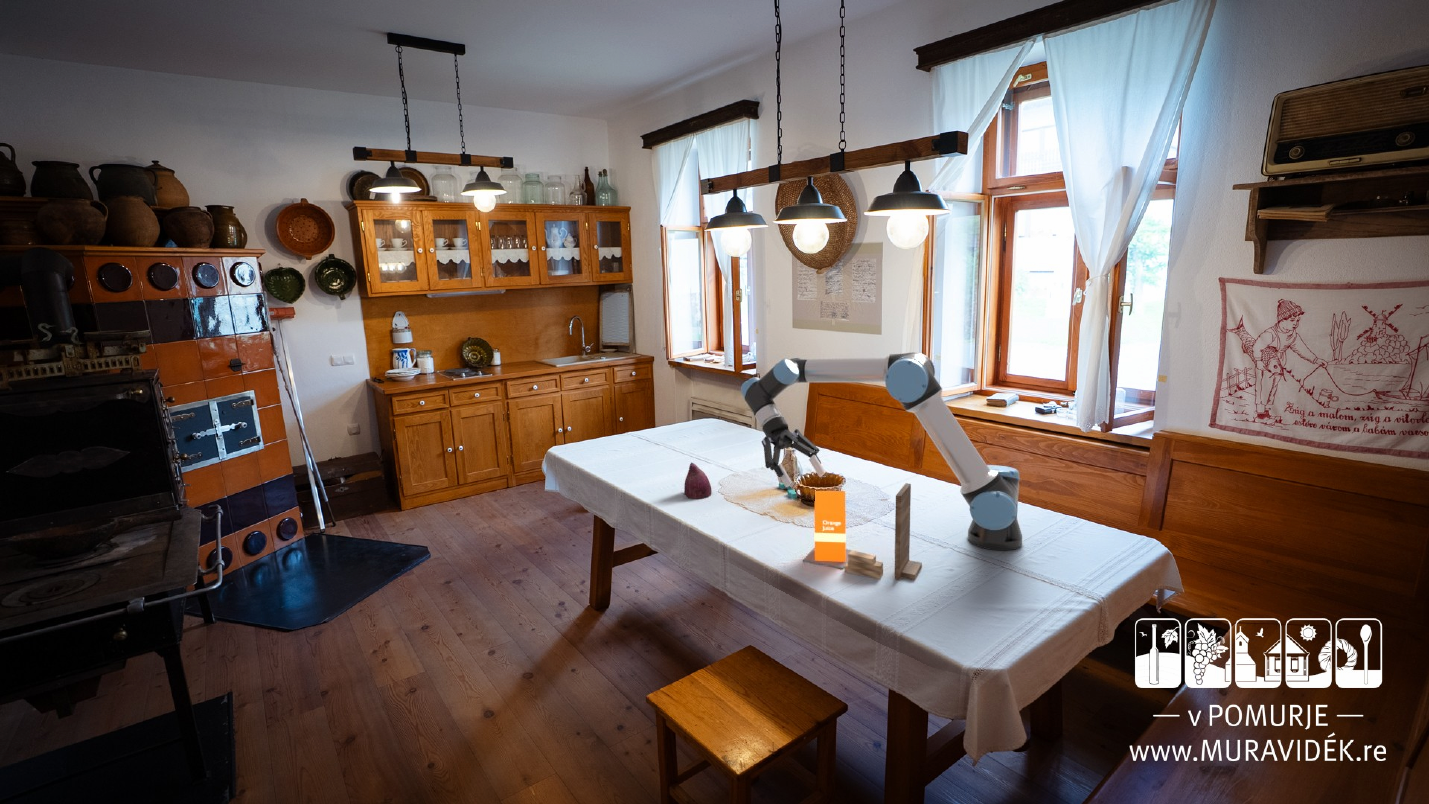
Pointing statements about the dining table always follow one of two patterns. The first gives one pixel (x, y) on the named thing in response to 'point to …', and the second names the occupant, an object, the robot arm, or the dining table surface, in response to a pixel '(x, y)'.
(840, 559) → the orange juice
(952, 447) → the robot arm
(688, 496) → the vegetable
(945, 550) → the dining table surface
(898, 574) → the walnut rack
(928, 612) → the dining table surface
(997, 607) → the dining table surface
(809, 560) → the grey mat
